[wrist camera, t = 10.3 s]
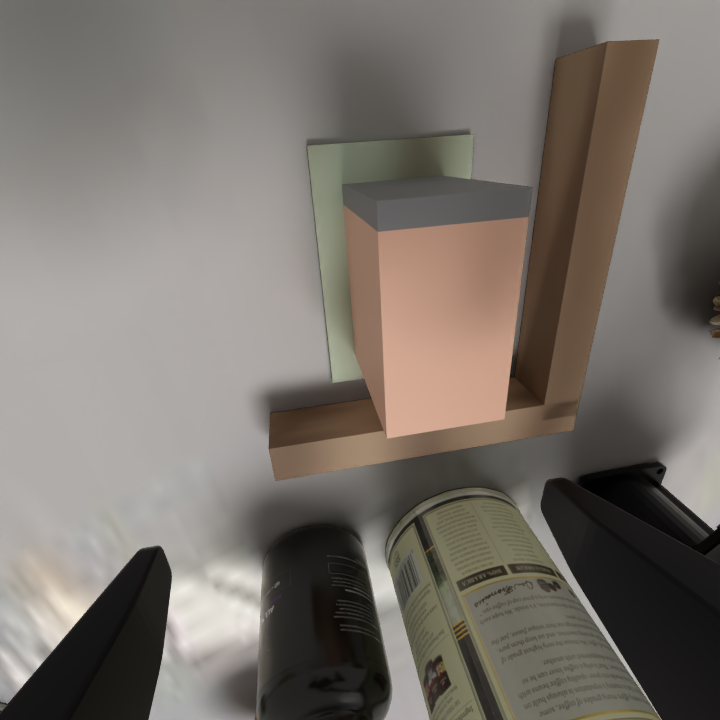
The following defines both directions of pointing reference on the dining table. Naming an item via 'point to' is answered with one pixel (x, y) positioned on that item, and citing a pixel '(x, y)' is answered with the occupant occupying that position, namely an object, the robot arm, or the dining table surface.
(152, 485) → the dining table surface
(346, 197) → the terracotta block
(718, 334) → the pine cone
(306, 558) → the supplement bottle
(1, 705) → the canned tomato
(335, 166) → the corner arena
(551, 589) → the coffee can
